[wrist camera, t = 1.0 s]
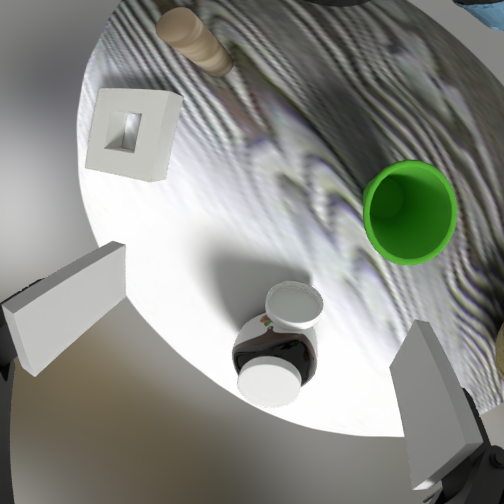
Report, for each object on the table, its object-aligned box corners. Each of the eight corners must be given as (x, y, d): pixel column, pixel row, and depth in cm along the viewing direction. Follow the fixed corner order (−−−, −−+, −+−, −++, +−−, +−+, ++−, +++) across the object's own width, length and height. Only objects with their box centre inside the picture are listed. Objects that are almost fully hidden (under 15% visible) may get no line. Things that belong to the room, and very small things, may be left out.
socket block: (116, 92, 33) (99, 88, 29) (183, 97, 32) (169, 91, 28) (102, 166, 37) (84, 168, 33) (165, 179, 36) (150, 182, 32)
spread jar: (255, 357, 42) (237, 413, 31) (228, 291, 39) (198, 339, 28) (335, 341, 38) (339, 400, 27) (316, 269, 36) (318, 316, 25)
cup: (420, 166, 29) (463, 170, 19) (410, 238, 32) (446, 270, 22) (349, 154, 31) (369, 151, 20) (342, 230, 34) (356, 260, 23)
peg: (209, 50, 29) (162, 8, 17) (236, 53, 29) (199, 6, 17) (202, 75, 31) (150, 41, 19) (229, 78, 30) (187, 41, 18)
